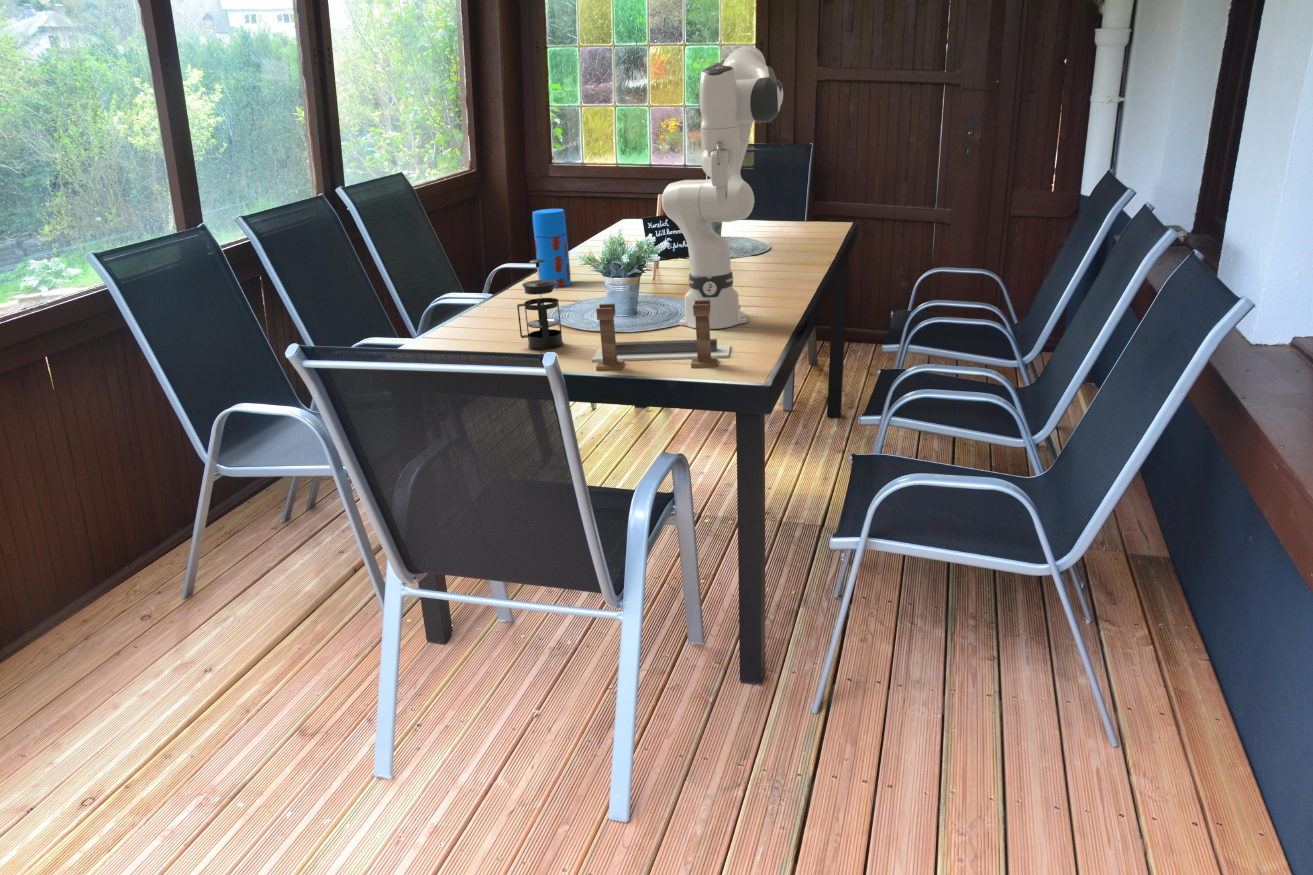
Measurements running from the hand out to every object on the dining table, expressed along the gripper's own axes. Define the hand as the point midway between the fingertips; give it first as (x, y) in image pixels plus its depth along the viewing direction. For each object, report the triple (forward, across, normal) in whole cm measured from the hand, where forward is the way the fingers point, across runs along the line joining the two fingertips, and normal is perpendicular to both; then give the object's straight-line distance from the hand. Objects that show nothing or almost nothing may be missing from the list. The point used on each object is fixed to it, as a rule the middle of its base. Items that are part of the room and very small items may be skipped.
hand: (722, 201), depth 239 cm
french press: (+37, +14, +50) cm, 64 cm away
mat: (+37, +2, +17) cm, 41 cm away
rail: (+36, +2, +17) cm, 40 cm away
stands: (+37, -8, +17) cm, 42 cm away
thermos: (+37, +95, +64) cm, 120 cm away
